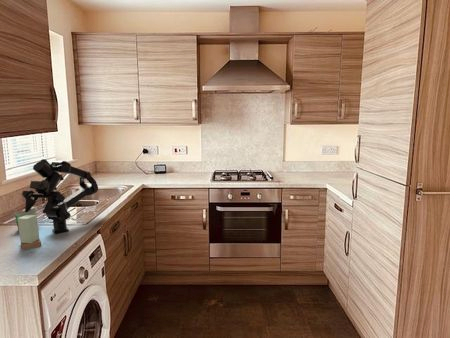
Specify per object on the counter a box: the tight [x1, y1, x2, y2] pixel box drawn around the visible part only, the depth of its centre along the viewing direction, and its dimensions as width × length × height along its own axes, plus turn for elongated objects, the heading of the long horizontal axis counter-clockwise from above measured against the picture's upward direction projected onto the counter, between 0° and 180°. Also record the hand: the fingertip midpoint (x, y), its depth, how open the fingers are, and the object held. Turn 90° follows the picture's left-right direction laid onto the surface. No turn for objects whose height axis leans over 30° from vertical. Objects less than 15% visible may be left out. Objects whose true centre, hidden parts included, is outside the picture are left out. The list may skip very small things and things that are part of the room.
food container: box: [13, 204, 38, 231], centre depth 164 cm, size 12×6×10 cm, turn 170°
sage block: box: [17, 214, 40, 244], centre depth 140 cm, size 5×5×11 cm
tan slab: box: [20, 238, 42, 251], centre depth 141 cm, size 7×7×2 cm
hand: (34, 212), depth 143 cm, fingers open, 9 cm apart
